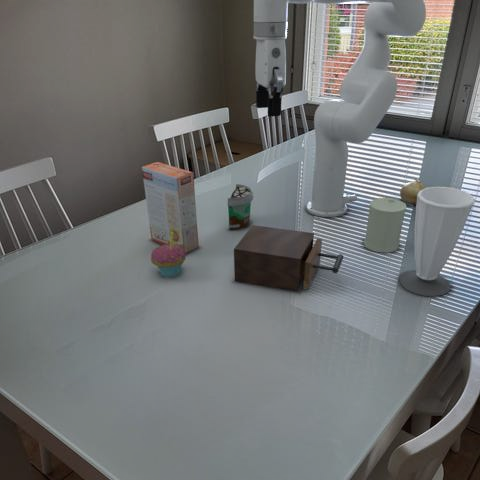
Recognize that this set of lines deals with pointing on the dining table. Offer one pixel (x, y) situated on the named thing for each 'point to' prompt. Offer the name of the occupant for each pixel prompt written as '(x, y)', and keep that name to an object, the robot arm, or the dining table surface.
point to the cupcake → (168, 258)
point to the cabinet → (271, 257)
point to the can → (384, 224)
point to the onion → (411, 192)
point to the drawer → (316, 263)
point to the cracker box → (171, 205)
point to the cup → (436, 237)
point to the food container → (240, 207)
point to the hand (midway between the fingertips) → (268, 111)
